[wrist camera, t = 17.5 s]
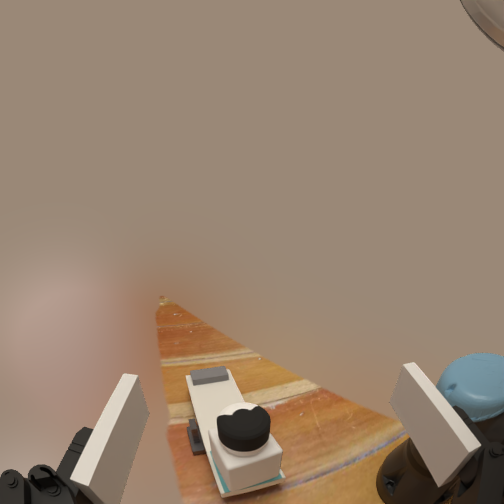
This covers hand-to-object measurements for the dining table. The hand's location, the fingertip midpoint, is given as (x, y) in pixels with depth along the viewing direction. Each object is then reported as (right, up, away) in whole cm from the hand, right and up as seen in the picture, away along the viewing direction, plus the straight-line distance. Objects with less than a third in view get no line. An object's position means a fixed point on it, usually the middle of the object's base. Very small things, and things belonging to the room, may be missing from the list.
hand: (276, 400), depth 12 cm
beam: (-5, -22, +28) cm, 36 cm away
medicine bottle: (-2, -23, +18) cm, 29 cm away
